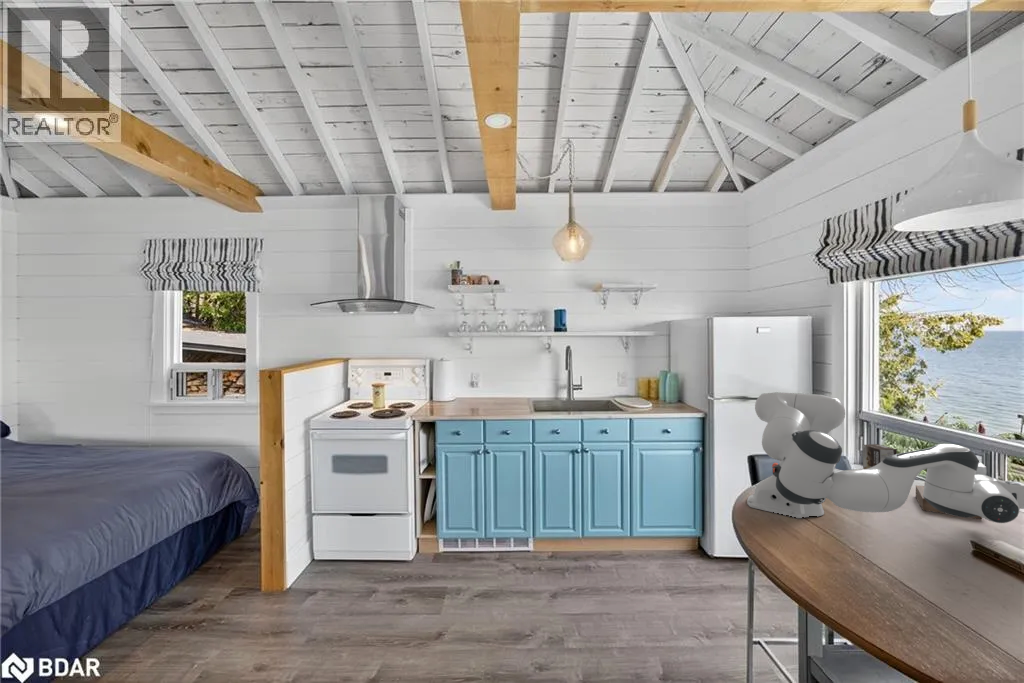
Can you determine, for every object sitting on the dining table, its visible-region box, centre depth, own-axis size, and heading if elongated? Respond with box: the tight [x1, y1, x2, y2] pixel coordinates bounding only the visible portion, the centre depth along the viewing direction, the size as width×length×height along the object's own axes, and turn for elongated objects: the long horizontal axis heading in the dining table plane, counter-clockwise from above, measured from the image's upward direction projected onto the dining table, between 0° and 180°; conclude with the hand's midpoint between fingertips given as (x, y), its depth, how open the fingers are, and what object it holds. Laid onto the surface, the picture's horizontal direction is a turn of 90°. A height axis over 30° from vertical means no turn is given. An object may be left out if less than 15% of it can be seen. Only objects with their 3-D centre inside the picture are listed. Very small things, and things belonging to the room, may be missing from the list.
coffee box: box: [862, 443, 898, 469], centre depth 176 cm, size 9×6×16 cm
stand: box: [915, 484, 983, 520], centre depth 157 cm, size 14×16×4 cm
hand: (971, 478), depth 142 cm, fingers closed on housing, 5 cm apart
